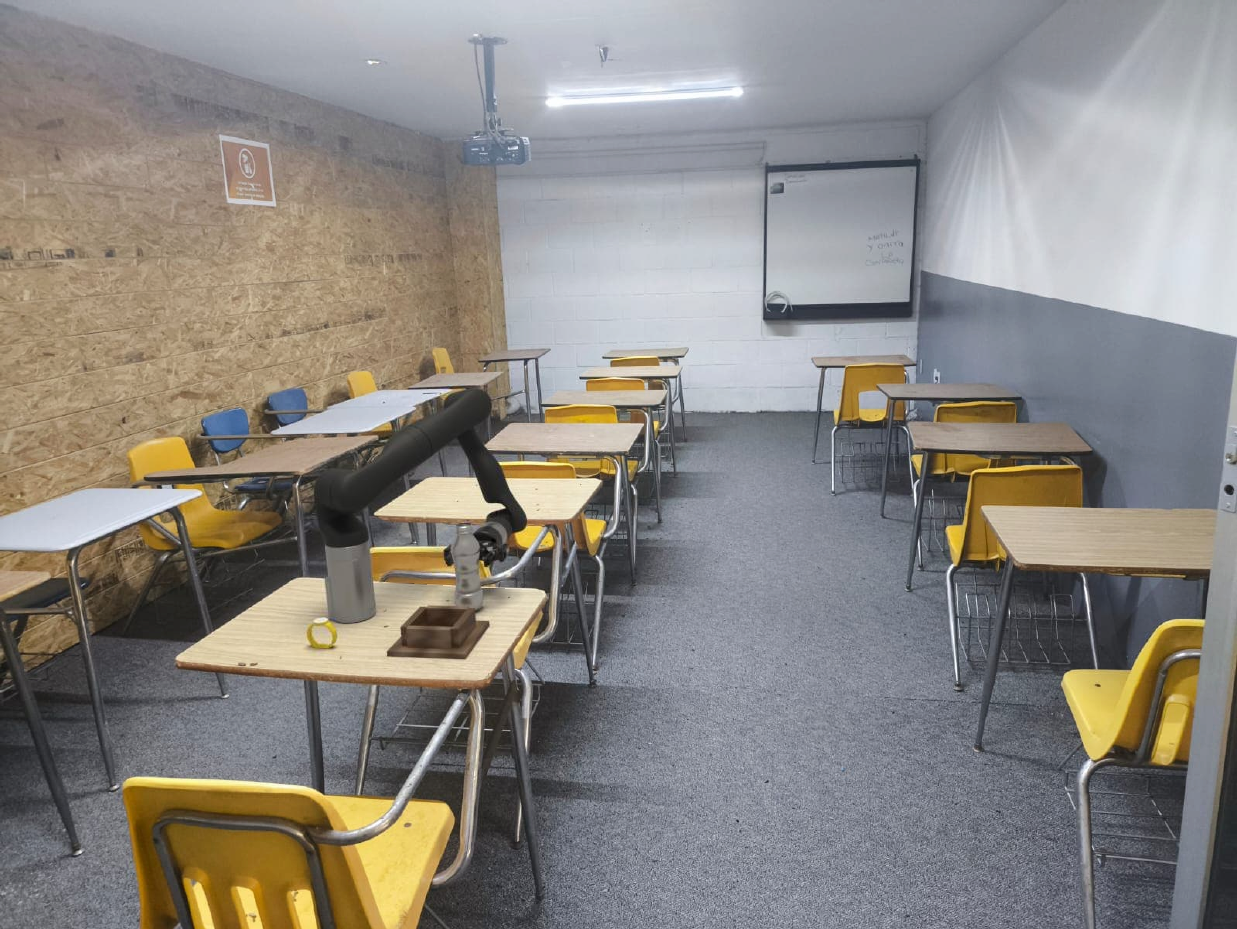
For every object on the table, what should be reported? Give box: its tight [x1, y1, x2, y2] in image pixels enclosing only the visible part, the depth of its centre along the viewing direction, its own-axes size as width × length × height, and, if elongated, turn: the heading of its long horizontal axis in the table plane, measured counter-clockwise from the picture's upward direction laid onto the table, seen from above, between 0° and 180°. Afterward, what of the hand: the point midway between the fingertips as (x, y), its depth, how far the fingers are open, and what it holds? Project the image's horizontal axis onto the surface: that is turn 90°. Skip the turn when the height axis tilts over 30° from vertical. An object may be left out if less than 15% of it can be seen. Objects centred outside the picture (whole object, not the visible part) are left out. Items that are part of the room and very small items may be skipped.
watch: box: [306, 617, 338, 650], centre depth 160 cm, size 6×3×6 cm, turn 80°
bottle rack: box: [386, 604, 491, 660], centre depth 162 cm, size 16×16×5 cm
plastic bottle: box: [450, 521, 485, 612], centre depth 175 cm, size 6×7×20 cm
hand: (466, 562), depth 175 cm, fingers open, 8 cm apart
